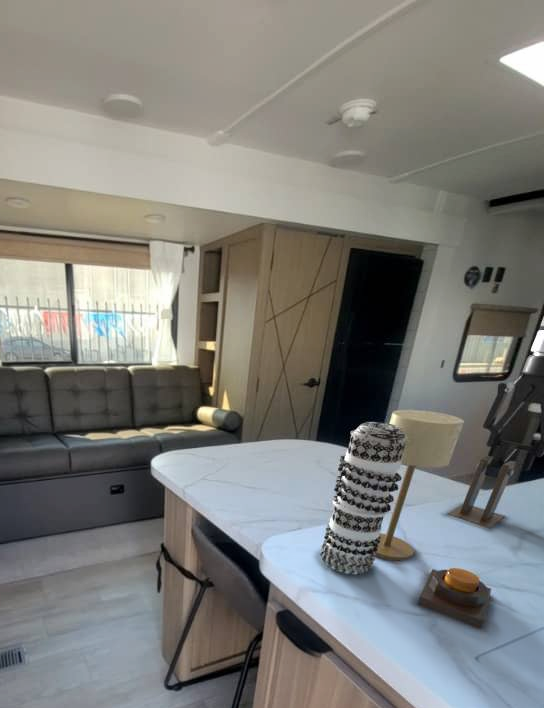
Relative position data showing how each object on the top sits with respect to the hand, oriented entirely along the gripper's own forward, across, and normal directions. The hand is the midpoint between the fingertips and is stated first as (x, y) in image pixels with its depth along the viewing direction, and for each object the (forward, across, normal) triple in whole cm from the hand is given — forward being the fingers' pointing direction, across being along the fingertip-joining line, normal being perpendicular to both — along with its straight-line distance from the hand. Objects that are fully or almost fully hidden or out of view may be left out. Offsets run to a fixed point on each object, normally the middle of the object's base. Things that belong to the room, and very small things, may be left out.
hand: (507, 465), depth 90 cm
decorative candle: (+11, -6, -51) cm, 53 cm away
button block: (+11, +9, -47) cm, 49 cm away
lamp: (+11, -5, -40) cm, 42 cm away
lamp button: (+7, +9, -47) cm, 49 cm away
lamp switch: (-2, 0, -5) cm, 5 cm away
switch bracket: (+11, 0, -9) cm, 14 cm away
